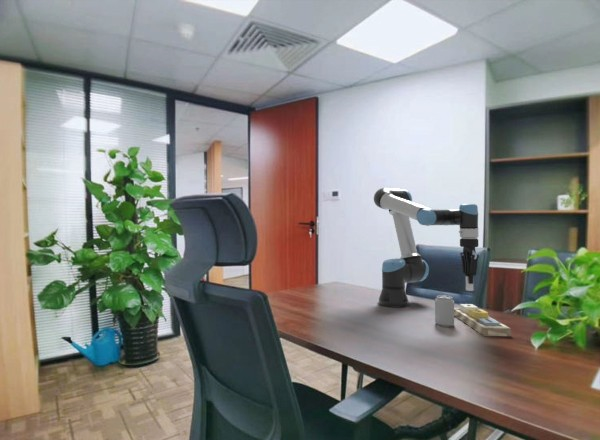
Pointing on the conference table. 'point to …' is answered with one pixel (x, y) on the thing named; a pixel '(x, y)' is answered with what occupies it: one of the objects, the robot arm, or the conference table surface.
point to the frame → (482, 329)
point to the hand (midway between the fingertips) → (469, 290)
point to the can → (444, 310)
